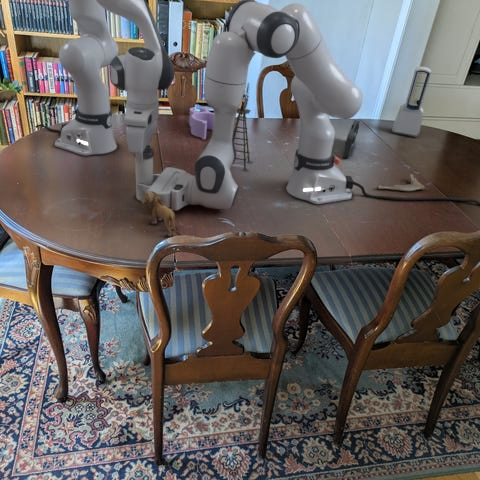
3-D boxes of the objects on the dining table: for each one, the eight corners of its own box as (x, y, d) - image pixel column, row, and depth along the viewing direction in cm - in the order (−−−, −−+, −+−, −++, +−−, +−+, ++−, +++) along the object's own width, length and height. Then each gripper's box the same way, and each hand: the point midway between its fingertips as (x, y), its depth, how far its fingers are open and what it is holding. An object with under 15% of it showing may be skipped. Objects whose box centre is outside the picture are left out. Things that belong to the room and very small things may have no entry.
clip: (182, 123, 206) (183, 107, 202) (209, 122, 210) (210, 106, 207) (197, 140, 191) (197, 123, 187) (225, 138, 195) (226, 122, 191)
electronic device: (418, 133, 224) (438, 69, 207) (417, 138, 218) (438, 72, 201) (391, 128, 226) (409, 64, 210) (390, 133, 220) (409, 67, 204)
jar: (138, 192, 148) (137, 147, 140) (154, 194, 148) (154, 149, 140) (134, 200, 144) (133, 154, 136) (151, 201, 144) (150, 156, 136)
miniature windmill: (245, 170, 170) (254, 87, 153) (222, 166, 171) (229, 83, 154) (250, 161, 177) (258, 80, 161) (228, 157, 178) (235, 77, 162)
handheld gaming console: (349, 160, 187) (354, 136, 182) (342, 158, 188) (347, 134, 183) (355, 142, 206) (361, 119, 201) (349, 140, 207) (354, 118, 201)
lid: (131, 157, 136) (130, 152, 136) (137, 150, 141) (137, 145, 140) (150, 160, 136) (150, 155, 135) (156, 153, 141) (156, 147, 140)
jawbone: (429, 189, 172) (431, 184, 171) (394, 201, 161) (396, 196, 160) (410, 177, 177) (412, 172, 176) (375, 189, 167) (376, 184, 165)
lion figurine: (138, 219, 134) (138, 191, 130) (153, 213, 138) (152, 186, 133) (173, 240, 127) (174, 211, 122) (187, 233, 131) (188, 205, 126)
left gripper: (140, 98, 140) (141, 142, 148) (121, 120, 123) (124, 168, 130) (161, 101, 140) (161, 144, 148) (145, 123, 123) (146, 171, 130)
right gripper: (194, 166, 149) (153, 159, 150) (175, 194, 132) (128, 186, 133) (193, 183, 152) (153, 177, 154) (175, 213, 135) (129, 205, 137)
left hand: (143, 156), depth 139 cm, fingers open, 8 cm apart
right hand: (141, 181), depth 143 cm, fingers closed on jar, 5 cm apart
